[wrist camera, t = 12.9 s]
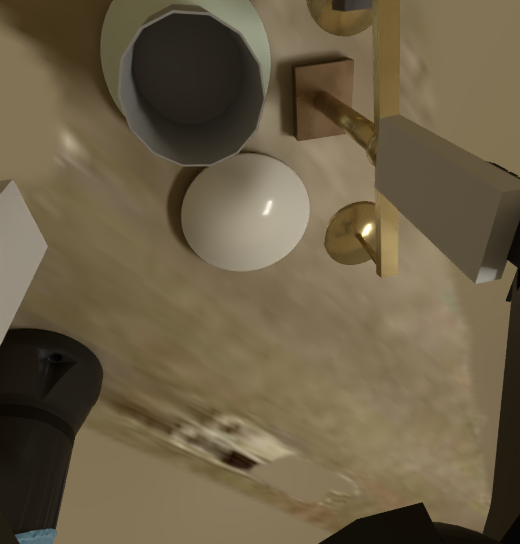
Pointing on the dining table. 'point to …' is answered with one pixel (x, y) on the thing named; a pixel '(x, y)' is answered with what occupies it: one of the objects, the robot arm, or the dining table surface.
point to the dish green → (142, 3)
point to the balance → (353, 122)
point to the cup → (191, 86)
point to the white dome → (245, 212)
